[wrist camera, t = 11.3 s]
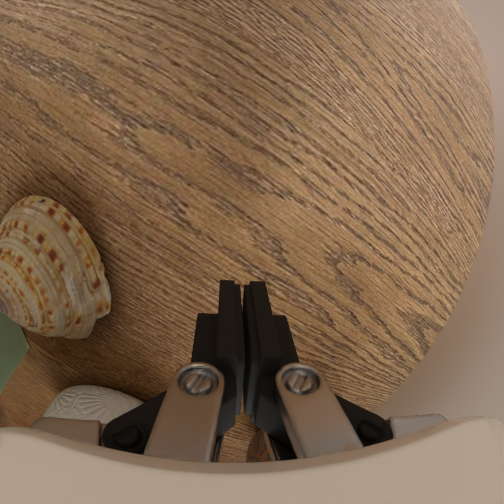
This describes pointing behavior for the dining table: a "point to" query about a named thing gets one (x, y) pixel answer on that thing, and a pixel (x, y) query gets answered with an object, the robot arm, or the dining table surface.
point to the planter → (91, 403)
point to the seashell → (50, 271)
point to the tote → (10, 348)
